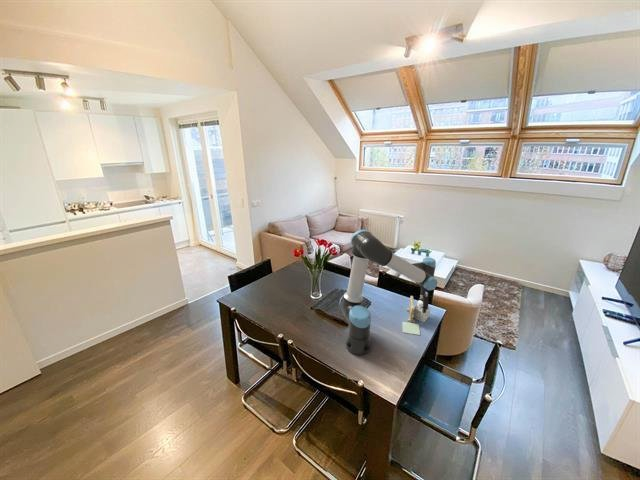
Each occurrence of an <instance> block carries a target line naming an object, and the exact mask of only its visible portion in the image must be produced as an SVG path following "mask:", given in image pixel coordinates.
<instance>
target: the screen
mask: <svg viewBox="0 0 640 480" xmlns="http://www.w3.org/2000/svg"><path fill="white" fill-rule="evenodd" d="M408 305H409V306H408V308H406V311H407V312H408V316H409V318H407V322H408V323H415V320H416V319H415V318H413V316H414V309H415V303H414V296H413V295H410V298H409V304H408Z"/></svg>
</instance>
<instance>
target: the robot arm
mask: <svg viewBox="0 0 640 480" xmlns="http://www.w3.org/2000/svg"><path fill="white" fill-rule="evenodd" d="M350 242H351V245H352V249H351V256H353V258H352V265H351V269H350V275H349V280H348V285H347V290H346V292H344V293H343V295H342V296H341V297H340V299H339V306H340V307H339V308H340V310H341V312H342V314H343V316H344V318H345V319H346V322H347V323H348V334H347V336H346V339H345V342H344V343H345V348H346V349H347V351H348V352H349V353H350V354H353V355H356V356H364V355H367V354H368V353H370V352H371V351H372V348H373V342H372V339H371V336H370V333H371V322H372V315H371V312H370V310H369V309H368V308H367V307H364V306H363V301H364V297H363V296H362V294H363V289H364V283H365V279H366V275H367V270H368V265H369V261H371V262H373V263H375V264H377V265H379V266H381V267H387V268H388V269H391V270H392V271H395V272H396V273H398V274H400V275H402V276H404V277H406V278H408V279H410V280H411V281H413V282H415V283H417V284H418V285H419V287H420V293H419V294H420V295H419V296H420V297H419V299H423V307H422V313H421V316H424V317H426V312H427V310H428V307H429V304H428V302H429V297H430V291H433V290H435V289H436V288H437V287H438V286H437V285H438V281H437V278H435V271H436V266H437V265H436V264H437V261H436V259H434V258H432V257H427V256H426V257H424V258H422V262H421V261H420V262H417V263H416V262H415V263H411V262H409V261H407V260H406V259H403V258H402V257H400V256H398V255H396V254H395V253H394V252H393V251H392V249H390V248H389V247H387V246H386V245H385V244H383V242H381V240H380V239H379V238H377V237H376V236H374V234H372V232H370V231H368V230H367V229H357V230H356V231H355V232H354V233H353V234H352V236H351V237H350Z"/></svg>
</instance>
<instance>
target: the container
mask: <svg viewBox="0 0 640 480" xmlns="http://www.w3.org/2000/svg"><path fill="white" fill-rule="evenodd" d="M416 304H417V305H415V306H414V308H415V309H414V316H413V319H415V320H418V321H420V322H422V323H425V322H426V321H427V320H428V319H429V318H430V314H431V313H430V312H431V306H428V310H427V312H426V317H424V316H421V313H422V307H423V299H420V298H419V299H418V300H417V303H416ZM428 305H429V301H428Z"/></svg>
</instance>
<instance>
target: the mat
mask: <svg viewBox="0 0 640 480" xmlns="http://www.w3.org/2000/svg"><path fill="white" fill-rule="evenodd" d="M401 323H402V325H401V326H402V333H404V334H409V335H415V336H416V335H417V336H421V331H420V324H419V323H415V322H413V323H411V322H408V321H407V322H406V321H402V322H401Z"/></svg>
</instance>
